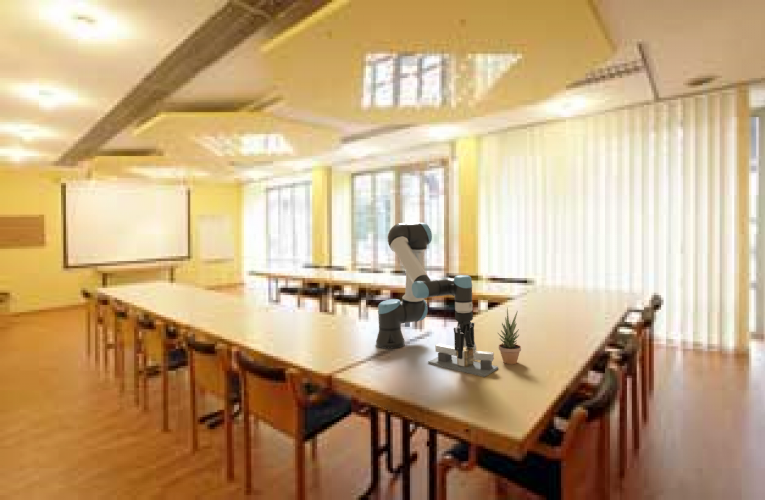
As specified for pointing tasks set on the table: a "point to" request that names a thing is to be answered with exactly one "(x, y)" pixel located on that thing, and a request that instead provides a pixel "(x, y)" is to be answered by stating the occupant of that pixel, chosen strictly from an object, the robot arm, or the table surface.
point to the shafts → (477, 354)
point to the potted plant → (509, 342)
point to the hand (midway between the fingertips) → (465, 363)
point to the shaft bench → (451, 363)
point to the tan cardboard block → (467, 356)
